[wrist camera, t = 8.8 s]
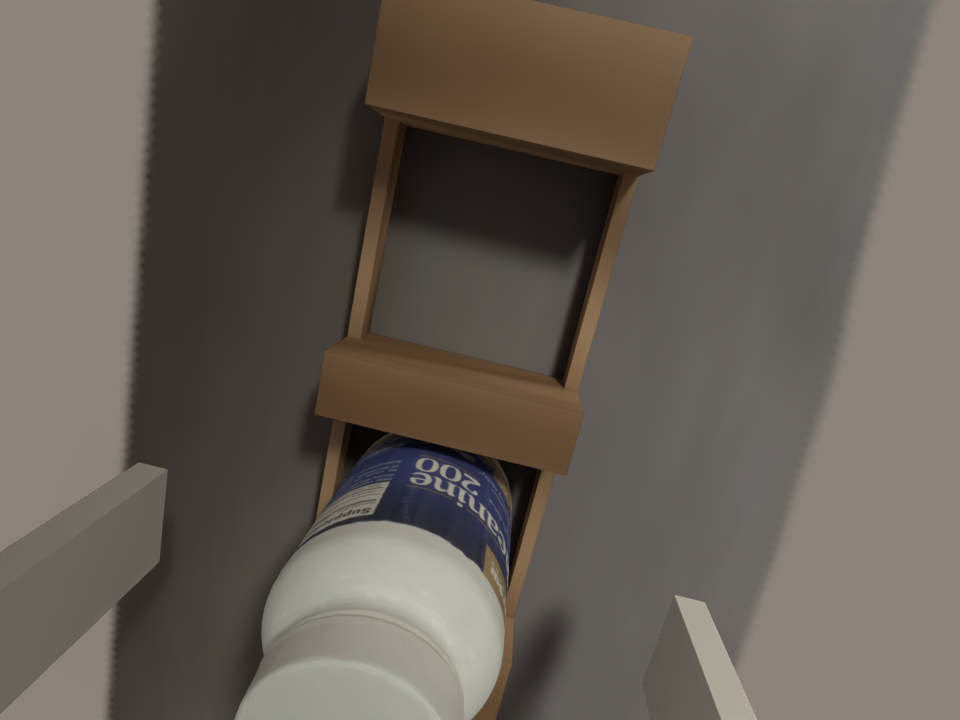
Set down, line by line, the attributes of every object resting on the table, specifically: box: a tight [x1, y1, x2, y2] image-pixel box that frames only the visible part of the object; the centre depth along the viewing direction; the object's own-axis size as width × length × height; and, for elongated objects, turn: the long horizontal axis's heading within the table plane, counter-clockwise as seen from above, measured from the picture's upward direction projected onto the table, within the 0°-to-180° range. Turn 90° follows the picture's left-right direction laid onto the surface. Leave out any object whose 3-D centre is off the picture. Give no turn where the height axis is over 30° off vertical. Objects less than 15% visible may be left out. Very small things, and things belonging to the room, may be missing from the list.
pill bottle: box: [235, 433, 512, 720], centre depth 15 cm, size 5×5×10 cm
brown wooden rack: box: [315, 0, 693, 720], centre depth 17 cm, size 20×7×3 cm, turn 167°
